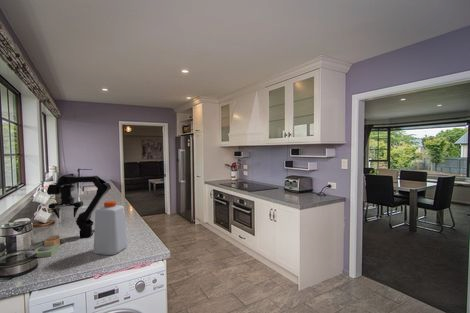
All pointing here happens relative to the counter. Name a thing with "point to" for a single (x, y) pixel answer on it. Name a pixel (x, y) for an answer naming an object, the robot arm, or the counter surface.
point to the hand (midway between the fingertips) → (66, 217)
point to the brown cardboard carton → (52, 240)
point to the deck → (47, 249)
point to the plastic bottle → (110, 229)
